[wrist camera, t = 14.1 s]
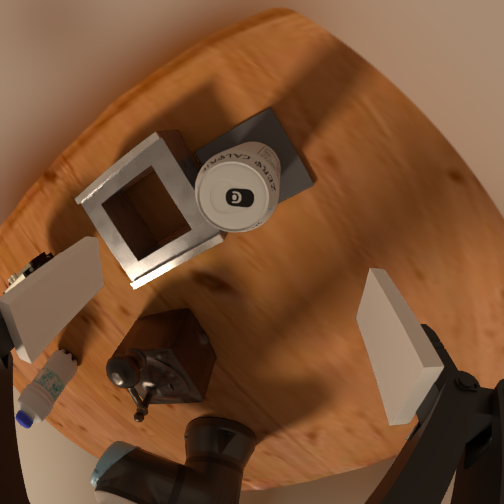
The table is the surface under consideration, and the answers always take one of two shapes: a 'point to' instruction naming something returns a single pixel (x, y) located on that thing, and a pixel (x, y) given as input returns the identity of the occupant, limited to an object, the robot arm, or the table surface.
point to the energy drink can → (239, 187)
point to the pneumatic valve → (29, 269)
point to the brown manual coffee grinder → (163, 361)
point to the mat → (272, 135)
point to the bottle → (45, 388)
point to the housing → (129, 221)
